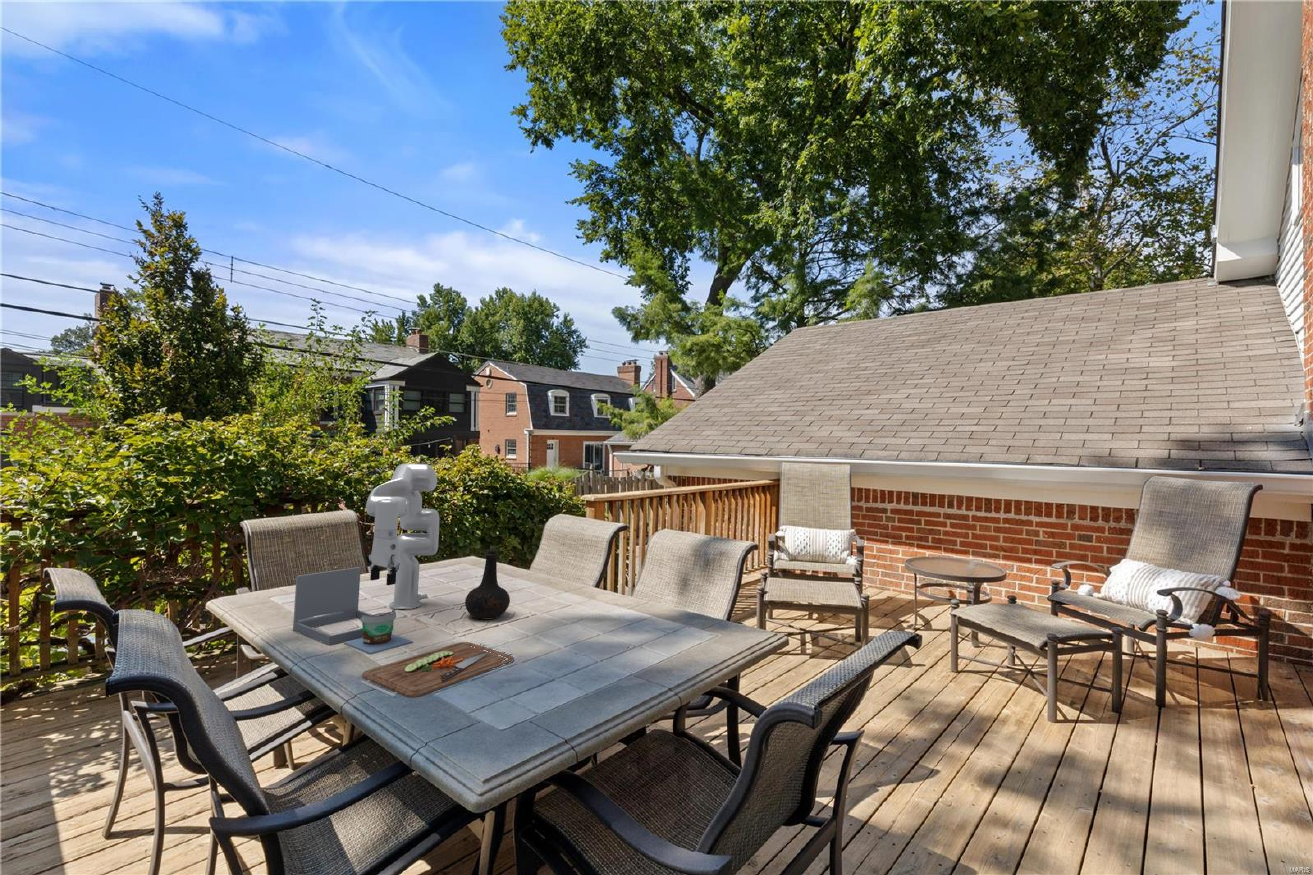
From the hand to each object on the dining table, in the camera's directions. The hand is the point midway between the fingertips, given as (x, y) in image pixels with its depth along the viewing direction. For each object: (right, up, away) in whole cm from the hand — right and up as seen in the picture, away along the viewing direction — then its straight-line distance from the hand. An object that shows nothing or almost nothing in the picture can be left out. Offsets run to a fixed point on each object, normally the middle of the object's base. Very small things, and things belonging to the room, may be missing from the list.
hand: (382, 582), depth 207 cm
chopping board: (+28, -23, -20) cm, 42 cm away
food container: (0, -21, -1) cm, 21 cm away
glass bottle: (+26, -24, +38) cm, 52 cm away
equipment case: (-20, -21, +11) cm, 30 cm away
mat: (-1, -21, -1) cm, 21 cm away
